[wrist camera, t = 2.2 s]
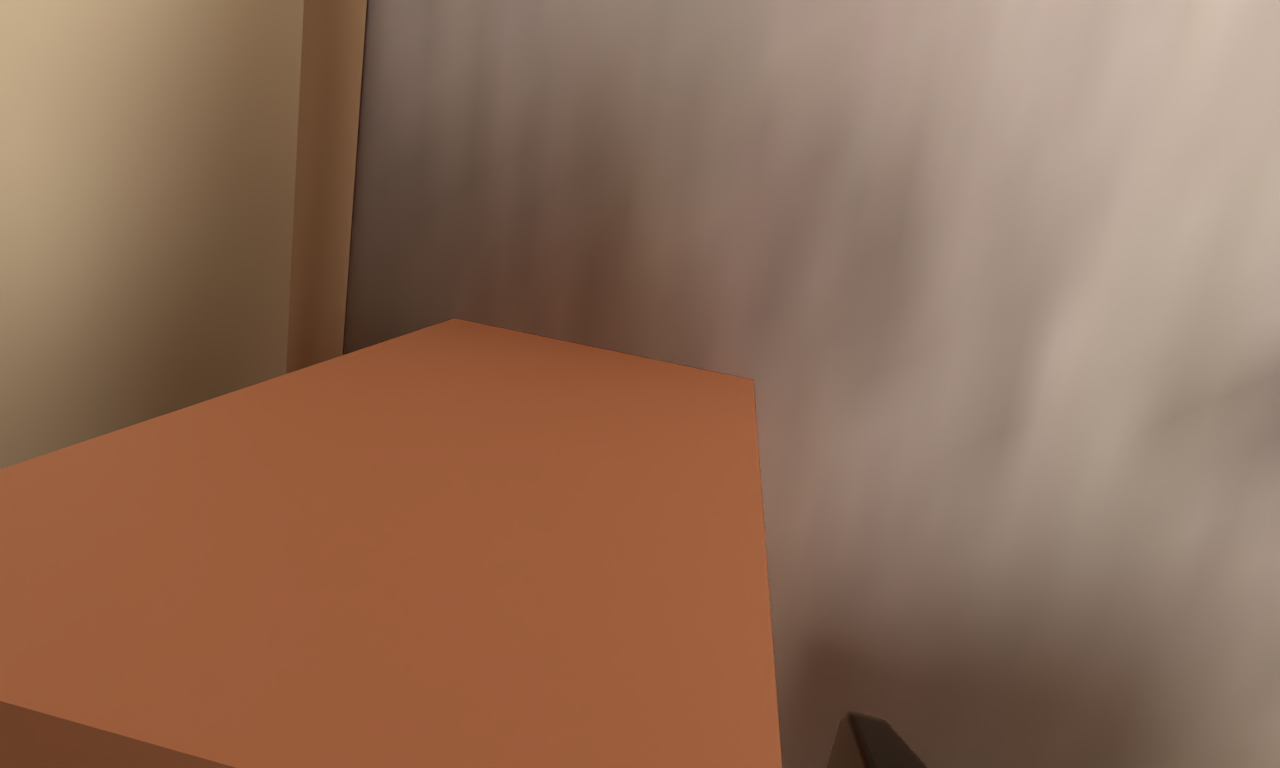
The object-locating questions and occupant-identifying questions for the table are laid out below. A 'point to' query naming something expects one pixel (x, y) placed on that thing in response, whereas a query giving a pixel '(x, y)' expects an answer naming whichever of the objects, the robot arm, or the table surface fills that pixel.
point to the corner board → (168, 204)
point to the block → (401, 571)
